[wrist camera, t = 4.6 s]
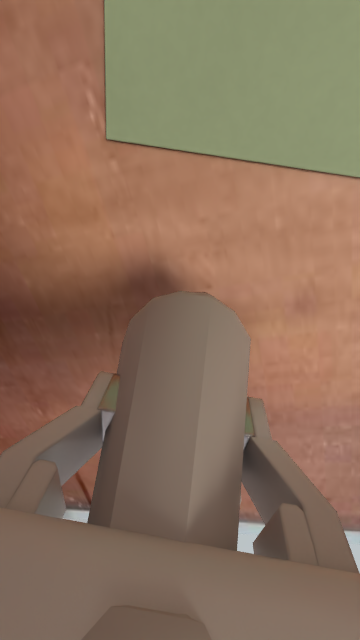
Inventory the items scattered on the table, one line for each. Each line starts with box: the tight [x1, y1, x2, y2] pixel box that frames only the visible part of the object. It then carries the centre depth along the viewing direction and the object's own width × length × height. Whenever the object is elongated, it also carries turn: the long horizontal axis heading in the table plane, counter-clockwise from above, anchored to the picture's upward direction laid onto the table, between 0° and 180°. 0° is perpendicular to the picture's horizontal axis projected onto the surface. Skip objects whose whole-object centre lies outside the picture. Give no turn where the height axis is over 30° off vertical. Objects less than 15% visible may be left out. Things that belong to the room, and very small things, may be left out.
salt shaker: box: [81, 291, 251, 640], centre depth 8 cm, size 6×6×13 cm
